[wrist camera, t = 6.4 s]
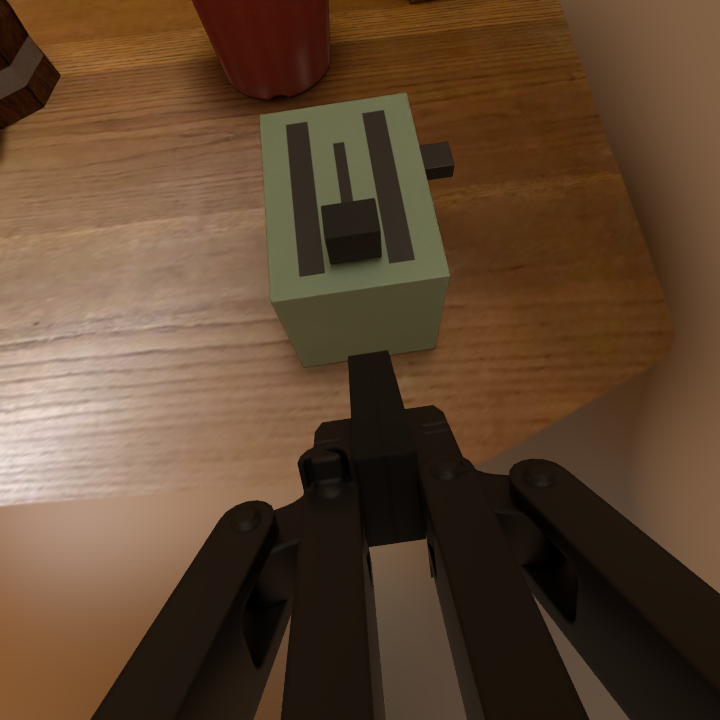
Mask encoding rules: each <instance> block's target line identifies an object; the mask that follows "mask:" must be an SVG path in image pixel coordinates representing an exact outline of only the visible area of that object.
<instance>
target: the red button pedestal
mask: <svg viewBox="0 0 720 720" xmlns="http://www.w3.org/2000/svg"><path fill="white" fill-rule="evenodd" d="M426 1H433V0H410V4H413V3H420V2H426Z"/></svg>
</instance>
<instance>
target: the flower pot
mask: <svg viewBox="0 0 720 720" xmlns="http://www.w3.org/2000/svg"><path fill="white" fill-rule="evenodd" d="M192 2H193V4H194V6H195V9H196V11H197V13H198V15H199V17H200V19H201V22H202V24H203V26H204V28H205V30H206V32H207V35H208V37H209V39H210V41H211V43H212V46H213V48H214V50H215V52H216V54H217V57H218V59H219V61H220V63H221V66H222V68H223V70H224V72H225V74H226V77H227V79H228V80H229V82H230V83H231V84H232V86H234V87H235V88H236V89H237V90H238V91H240V92H242V93H243V94H246V95H248V96H251V97H254V98H259V99H268V100H269V99H271V98H272V97H273V96H277V95H284V96H287V97H291V96H294V95H297V94H300V93H302V92H304V91H306V90H307V89H309V88H311V87H312V86H313V85H315V84H316V83H317V82H318V81H319V80H320V79H321V78H322V77H323V75H324V74H325V73H326V71H327V69H328V67H329V63H330V32H329V3H328V0H192Z"/></svg>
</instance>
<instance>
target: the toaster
mask: <svg viewBox="0 0 720 720" xmlns="http://www.w3.org/2000/svg"><path fill="white" fill-rule="evenodd" d="M259 117H260V134H261V150H262V167H263V183H264V200H265V216H266V233H267V249H268V266H269V282H270V298H271V304H272V306H273V307H274V309H275V311H276V313H277V315H278V317H279V319H280V321H281V323H282V325H283V327H284V329H285V331H286V333H287V335H288V337H289V339H290V341H291V343H292V345H293V347H294V349H295V351H296V353H297V355H298V357H299V359H300V361H301V363H302V365H303V367H309V366H316V365H323V364H329V363H336V362H343V361H348V356H352V355H359V354H365V353H372V352H379V351H386V350H388V352H389V355H392V354H398V353H405V352H412V351H419V350H426V349H433V348H435V345H436V340H437V336H438V331H439V326H440V321H441V317H442V312H443V307H444V303H445V298H446V293H447V288H448V284H449V279H450V273H449V268H448V264H447V260H446V256H445V252H444V248H443V243H442V239H441V235H440V231H439V227H438V223H437V218H436V214H435V210H434V206H433V202H432V197H431V193H430V189H429V185H428V181H427V180H432V179H439V178H445V177H452V176H453V170H454V161H453V158H452V154H451V150H450V147H449V143H448V142H441V143H435V144H428V145H421V146H419V143H418V139H417V135H416V131H415V127H414V122H413V118H412V114H411V110H410V106H409V102H408V97H407V93H400V94H394V95H387V96H381V97H374V98H368V99H361V100H355V101H348V102H342V103H335V104H329V105H322V106H316V107H309V108H303V109H296V110H290V111H283V112H277V113H270V114H263V115H260V116H259ZM370 198H375V201H376V206H377V212H378V218H379V223H380V229H381V248H382V257H380V258H373V259H367V260H360V261H353V262H346V263H340V264H333V265H331V264H330V261H329V256H328V252H327V248H326V243H325V239H324V230H323V222H322V213H321V206H323V205H330V204H337V203H343V202H350V201H357V200H363V199H370Z"/></svg>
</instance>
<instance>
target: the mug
mask: <svg viewBox="0 0 720 720" xmlns="http://www.w3.org/2000/svg"><path fill="white" fill-rule="evenodd" d="M59 77H60V74H59V73H58V71H57V70H56V69H55V67H54V66H53V65H52V64H51V62H50V61H49V60H48V58H47V57H46V56H45V54H44V53H43V52H42V51H41V50H40V49H39V47H38V46H37V45H36V44H35V43H34V42H33V40H32V39H31V37H30V36H29V35H28V33H27V31H26V30H25V28H24V26H23V25H22V23H21V22H20V20H19V18H18V17H17V15H16V14H15V12H14V10H13V9H12V7H11V6H10V4H9V3H8V2H7V0H0V129H3V128H5V127H7V126H8V125H10V124H12V123H14V122H16V121H18V120H20V119H22V118H24V117H25V116H27V115H29V114H31V113H33V112H35V111H37V110H39V109H41V108H42V107H44V106H45V104H46V102H47V100H48V98H49V96H50V94H51V92H52V90H53V89H54V87H55V85H56V83H57V81H58V79H59Z"/></svg>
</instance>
